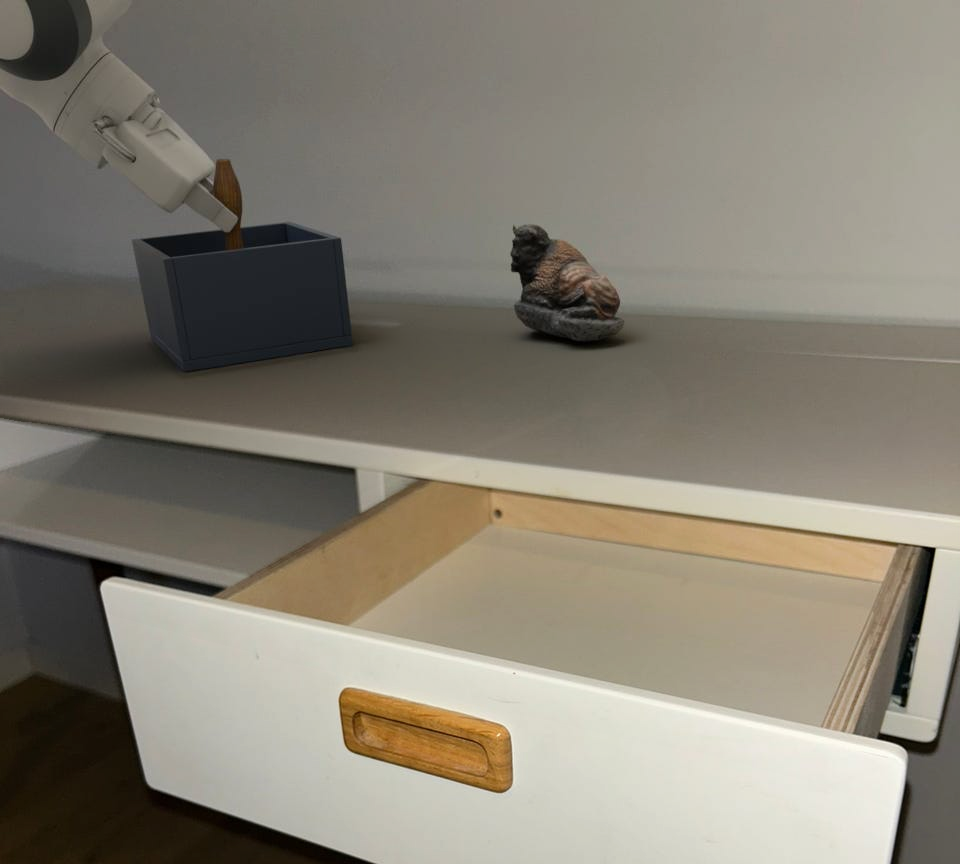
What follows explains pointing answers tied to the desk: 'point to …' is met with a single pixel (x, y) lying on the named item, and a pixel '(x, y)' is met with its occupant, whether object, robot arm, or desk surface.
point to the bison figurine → (561, 289)
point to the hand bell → (229, 199)
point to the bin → (244, 294)
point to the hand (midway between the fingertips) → (236, 223)
